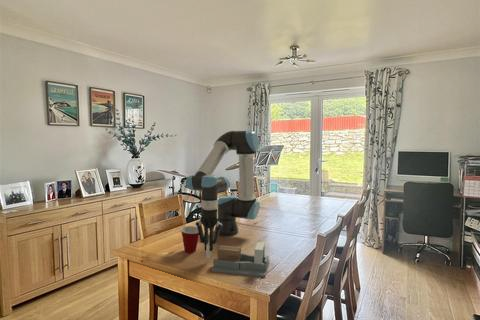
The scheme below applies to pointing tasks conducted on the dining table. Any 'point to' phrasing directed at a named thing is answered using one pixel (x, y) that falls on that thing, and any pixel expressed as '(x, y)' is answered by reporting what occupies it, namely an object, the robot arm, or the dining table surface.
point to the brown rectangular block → (229, 253)
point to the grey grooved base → (245, 263)
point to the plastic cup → (190, 238)
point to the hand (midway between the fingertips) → (208, 257)
